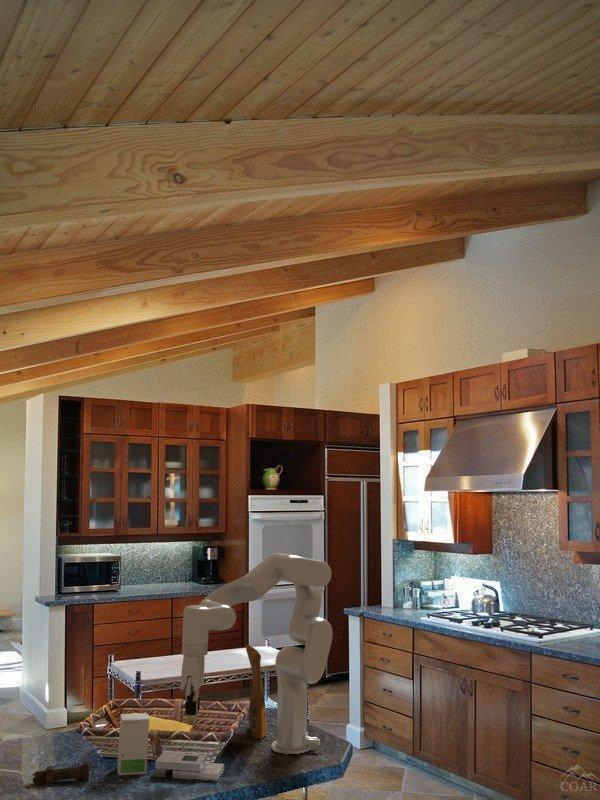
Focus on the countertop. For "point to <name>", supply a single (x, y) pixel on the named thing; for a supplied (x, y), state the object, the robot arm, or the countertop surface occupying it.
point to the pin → (191, 718)
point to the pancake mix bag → (256, 696)
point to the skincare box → (133, 744)
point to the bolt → (62, 774)
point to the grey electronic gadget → (187, 766)
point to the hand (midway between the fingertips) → (192, 712)
